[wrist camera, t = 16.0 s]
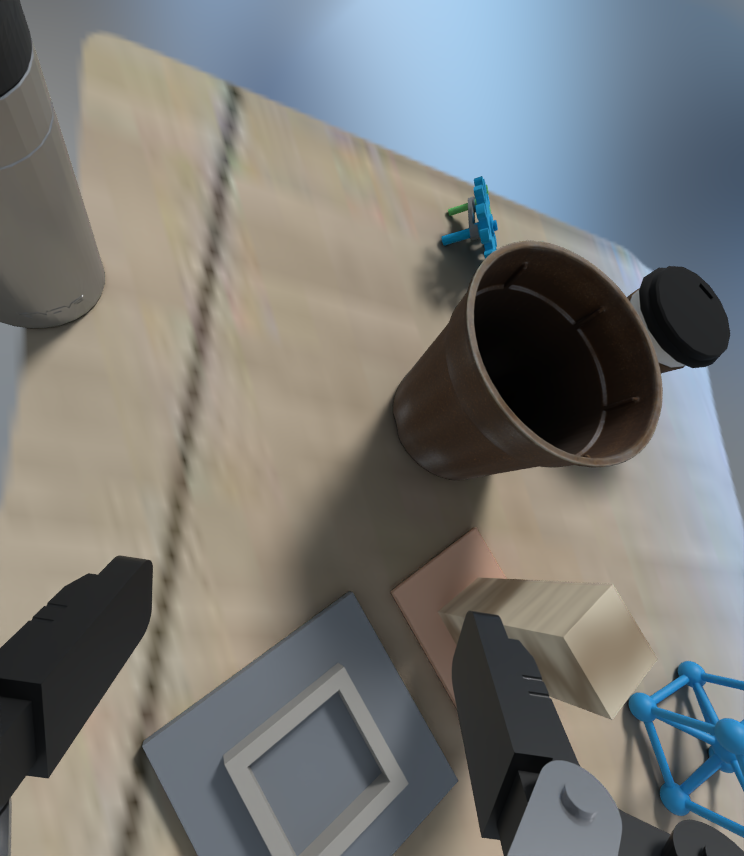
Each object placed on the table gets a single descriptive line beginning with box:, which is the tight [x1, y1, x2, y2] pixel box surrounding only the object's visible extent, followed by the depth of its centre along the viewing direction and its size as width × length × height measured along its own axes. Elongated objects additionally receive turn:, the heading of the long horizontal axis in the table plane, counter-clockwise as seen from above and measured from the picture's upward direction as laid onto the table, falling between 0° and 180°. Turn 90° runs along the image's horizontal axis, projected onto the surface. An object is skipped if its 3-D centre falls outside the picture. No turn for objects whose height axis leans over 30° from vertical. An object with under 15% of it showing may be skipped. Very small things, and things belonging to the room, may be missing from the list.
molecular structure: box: [628, 661, 744, 838], centre depth 38 cm, size 10×10×10 cm
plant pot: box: [393, 241, 663, 480], centre depth 36 cm, size 16×16×16 cm
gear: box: [442, 176, 498, 259], centre depth 48 cm, size 11×6×10 cm
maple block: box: [438, 577, 658, 720], centre depth 31 cm, size 5×5×14 cm
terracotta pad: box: [390, 528, 507, 708], centre depth 38 cm, size 12×10×1 cm
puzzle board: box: [142, 592, 458, 856], centre depth 30 cm, size 16×16×2 cm
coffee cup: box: [627, 266, 730, 373], centre depth 48 cm, size 11×11×12 cm
